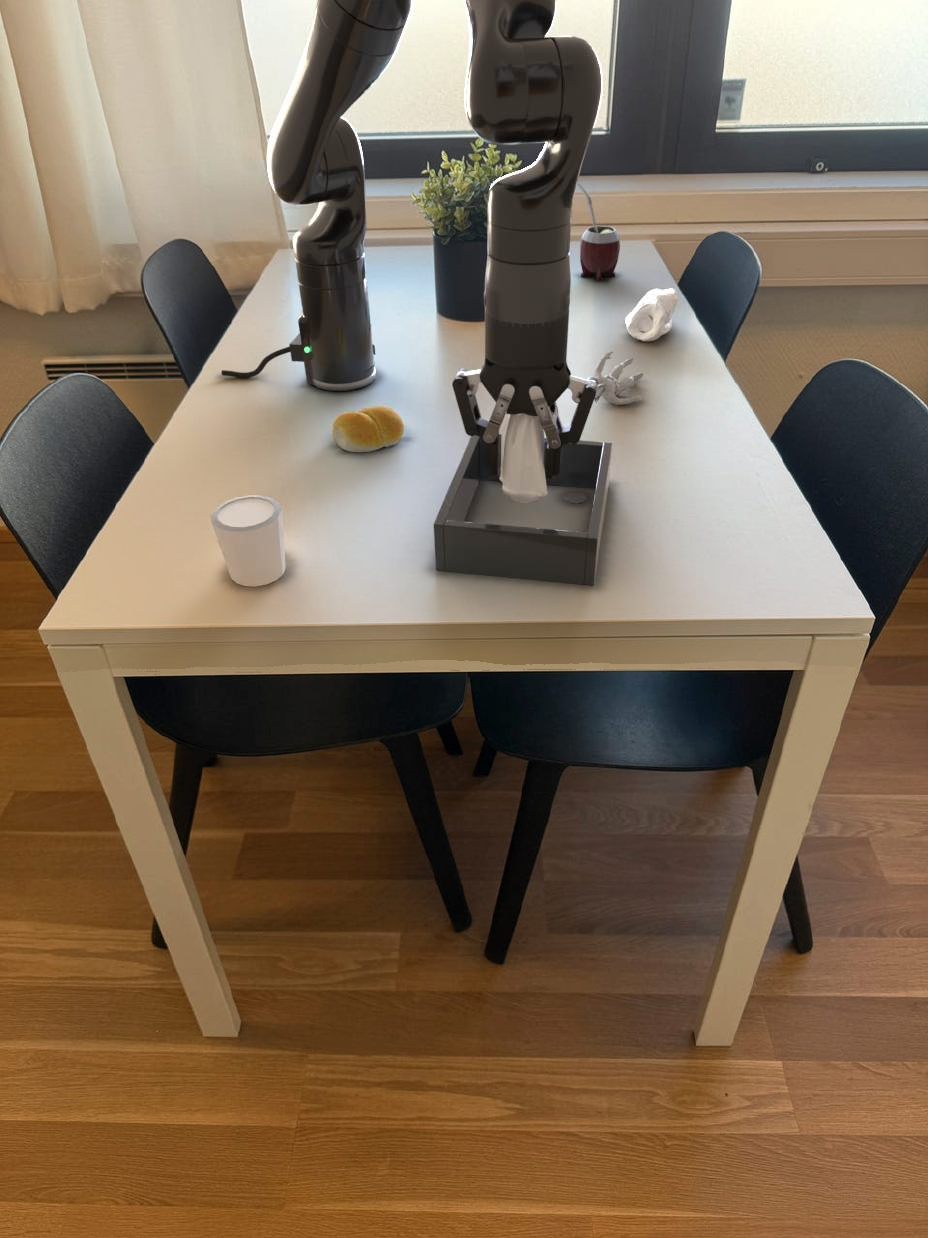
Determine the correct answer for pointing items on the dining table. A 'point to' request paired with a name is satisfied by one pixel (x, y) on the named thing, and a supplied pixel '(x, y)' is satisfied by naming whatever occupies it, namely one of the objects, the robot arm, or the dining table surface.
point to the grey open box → (524, 546)
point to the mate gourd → (598, 248)
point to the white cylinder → (251, 539)
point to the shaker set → (522, 458)
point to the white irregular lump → (652, 315)
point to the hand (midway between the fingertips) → (522, 473)
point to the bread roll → (368, 429)
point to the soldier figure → (615, 382)
